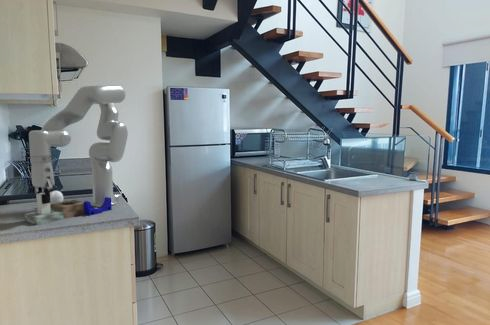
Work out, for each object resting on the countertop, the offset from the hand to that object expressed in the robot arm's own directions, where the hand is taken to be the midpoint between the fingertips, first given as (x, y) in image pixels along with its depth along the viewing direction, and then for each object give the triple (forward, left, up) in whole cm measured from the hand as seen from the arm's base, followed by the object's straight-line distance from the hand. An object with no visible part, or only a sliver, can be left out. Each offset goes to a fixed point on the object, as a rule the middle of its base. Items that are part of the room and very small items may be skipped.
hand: (43, 202), depth 147 cm
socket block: (-5, 0, -8) cm, 9 cm away
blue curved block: (-21, +8, -8) cm, 24 cm away
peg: (0, 0, -6) cm, 6 cm away
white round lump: (-15, -20, -8) cm, 26 cm away
